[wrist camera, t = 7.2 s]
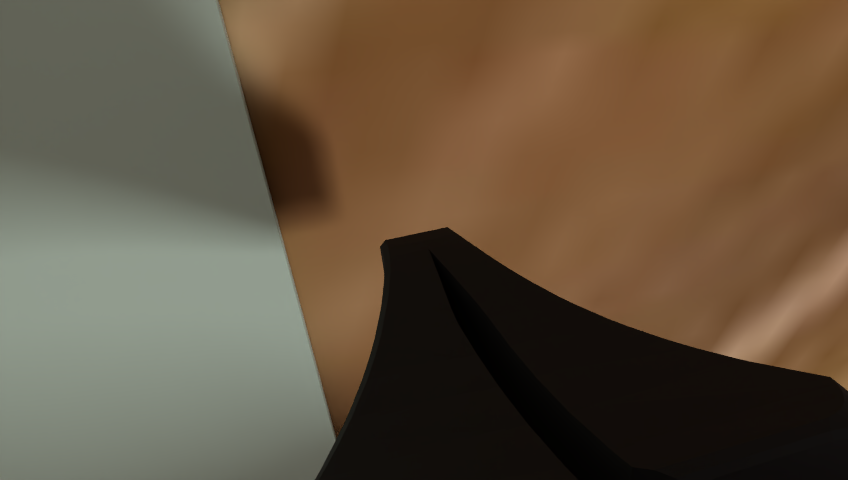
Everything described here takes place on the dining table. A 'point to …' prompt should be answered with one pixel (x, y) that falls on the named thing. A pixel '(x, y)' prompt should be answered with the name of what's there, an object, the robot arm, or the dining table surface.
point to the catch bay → (142, 257)
